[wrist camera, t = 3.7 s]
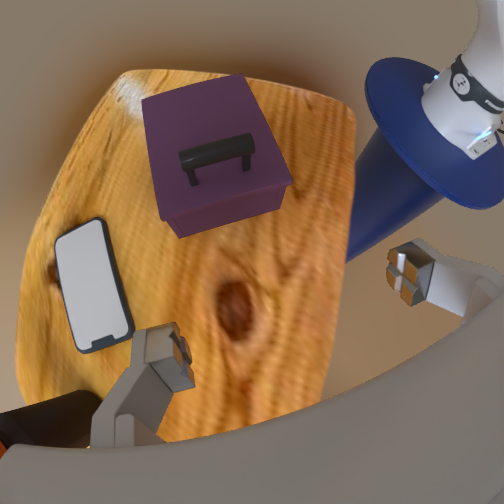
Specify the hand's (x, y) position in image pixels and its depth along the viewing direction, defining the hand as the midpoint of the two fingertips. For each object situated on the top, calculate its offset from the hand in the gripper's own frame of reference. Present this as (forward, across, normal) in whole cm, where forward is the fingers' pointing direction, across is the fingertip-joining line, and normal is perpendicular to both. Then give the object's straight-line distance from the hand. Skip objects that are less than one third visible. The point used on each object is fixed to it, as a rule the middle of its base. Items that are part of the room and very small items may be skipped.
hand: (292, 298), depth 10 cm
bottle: (+11, +25, +20) cm, 34 cm away
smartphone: (+22, +19, +9) cm, 30 cm away
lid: (+23, 0, -3) cm, 23 cm away
